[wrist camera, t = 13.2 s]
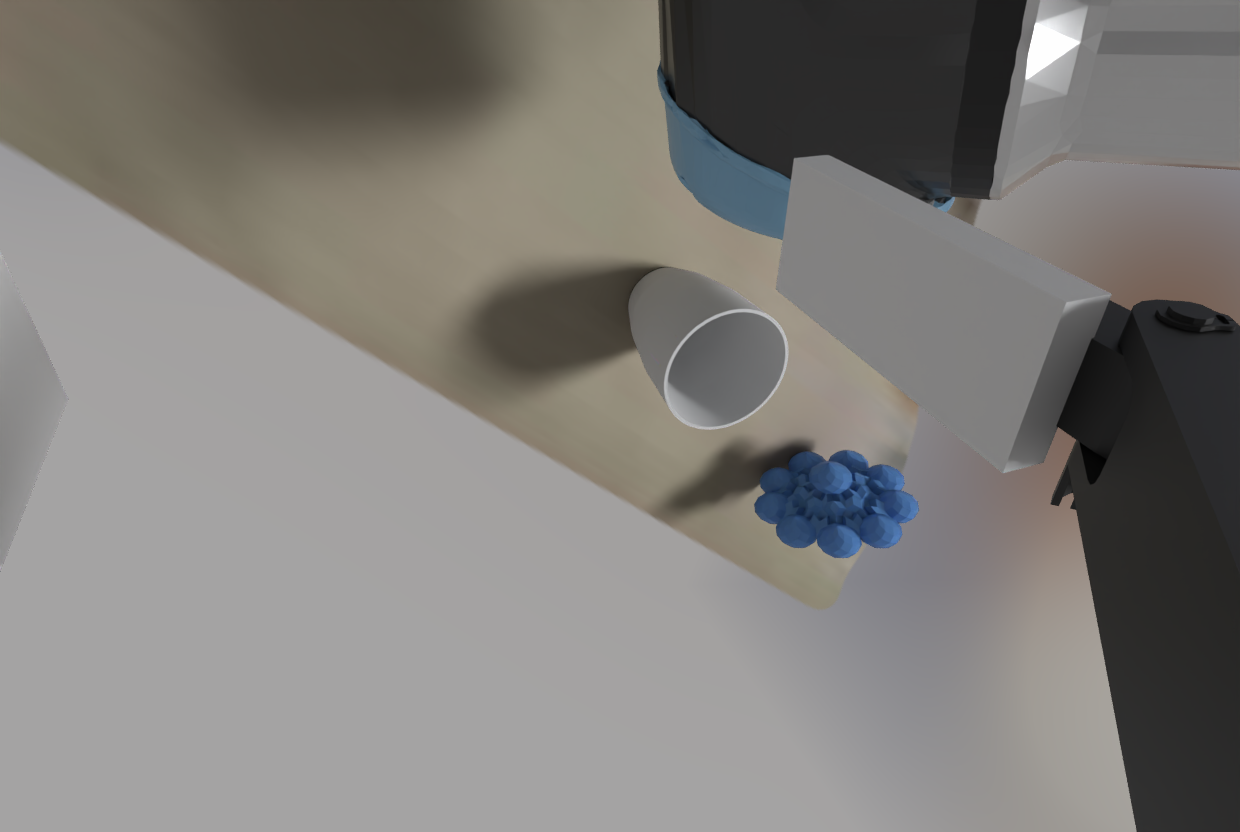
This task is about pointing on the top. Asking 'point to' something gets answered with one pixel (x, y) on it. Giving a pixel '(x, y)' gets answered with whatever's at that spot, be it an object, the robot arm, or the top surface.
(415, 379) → the top surface
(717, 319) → the cup
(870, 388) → the top surface
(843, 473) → the grapes
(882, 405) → the top surface
